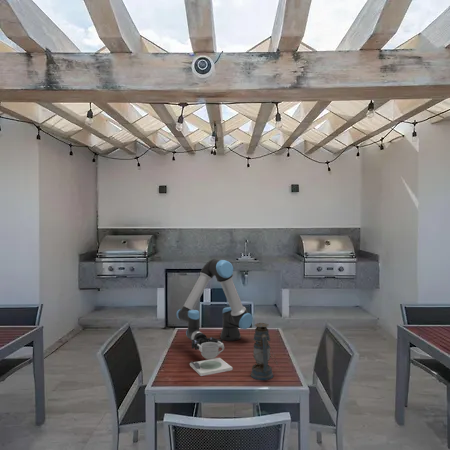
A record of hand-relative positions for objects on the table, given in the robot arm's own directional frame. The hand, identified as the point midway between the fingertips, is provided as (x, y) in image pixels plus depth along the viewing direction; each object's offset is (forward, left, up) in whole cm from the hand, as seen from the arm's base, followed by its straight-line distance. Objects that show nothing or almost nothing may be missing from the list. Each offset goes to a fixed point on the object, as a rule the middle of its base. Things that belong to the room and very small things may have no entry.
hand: (212, 347), depth 225 cm
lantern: (-22, +21, -13) cm, 33 cm away
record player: (0, -3, -13) cm, 13 cm away
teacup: (0, -1, -6) cm, 6 cm away
